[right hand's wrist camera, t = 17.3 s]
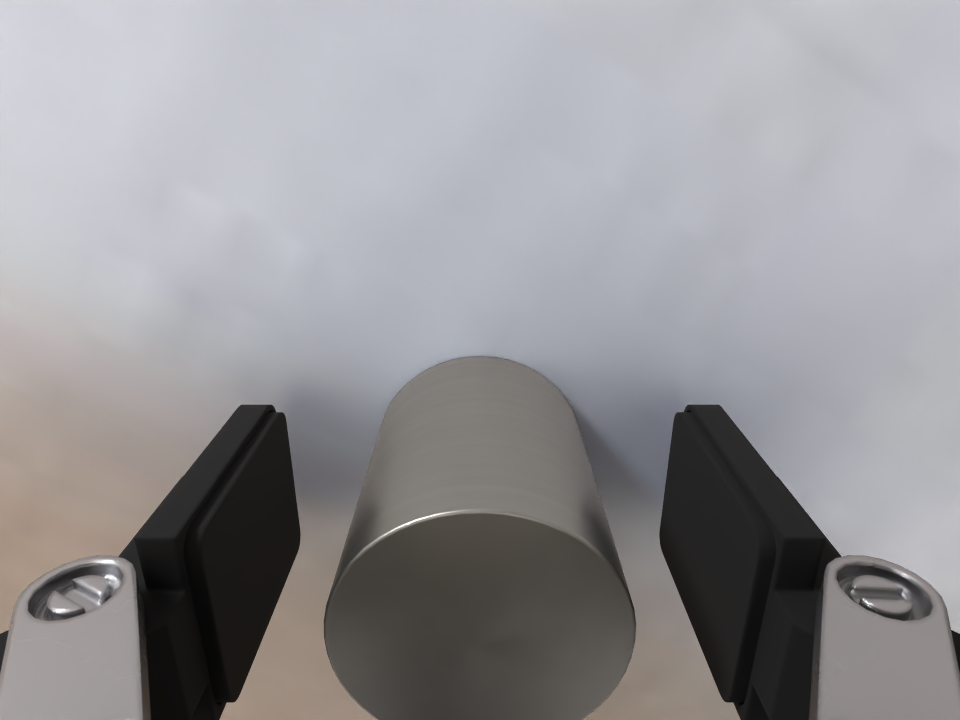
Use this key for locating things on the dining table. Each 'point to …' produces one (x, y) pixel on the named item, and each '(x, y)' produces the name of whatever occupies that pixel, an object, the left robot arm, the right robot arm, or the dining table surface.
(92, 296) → the dining table surface
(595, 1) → the dining table surface
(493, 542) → the canister
